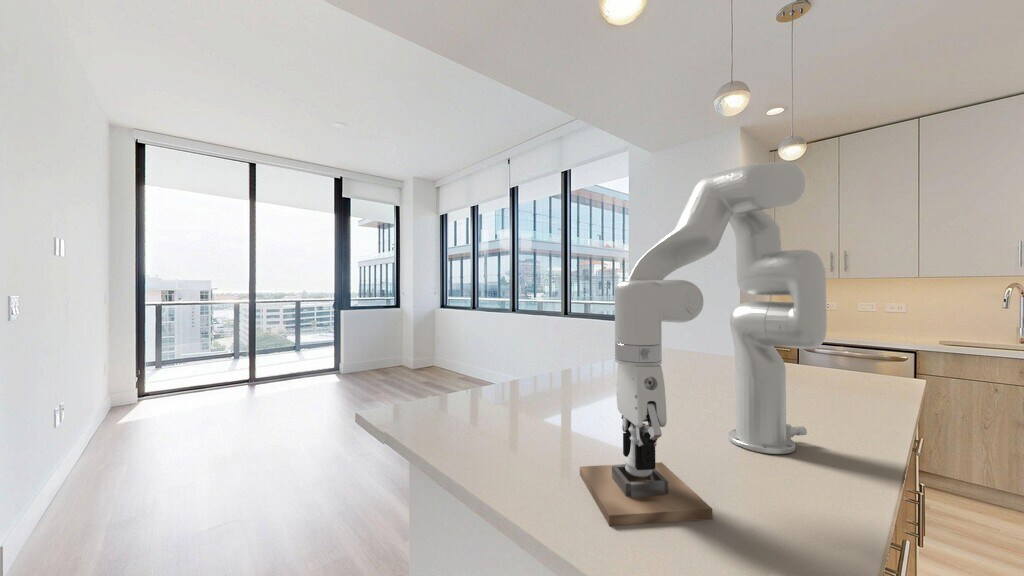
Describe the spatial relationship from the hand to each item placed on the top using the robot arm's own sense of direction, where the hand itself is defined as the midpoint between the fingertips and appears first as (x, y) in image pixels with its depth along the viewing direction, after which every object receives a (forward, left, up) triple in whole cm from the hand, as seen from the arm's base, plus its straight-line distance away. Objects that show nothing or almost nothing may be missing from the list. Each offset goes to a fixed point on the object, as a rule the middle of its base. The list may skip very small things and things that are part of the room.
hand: (638, 461), depth 66 cm
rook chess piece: (0, 0, -2) cm, 2 cm away
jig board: (0, 0, -6) cm, 6 cm away
